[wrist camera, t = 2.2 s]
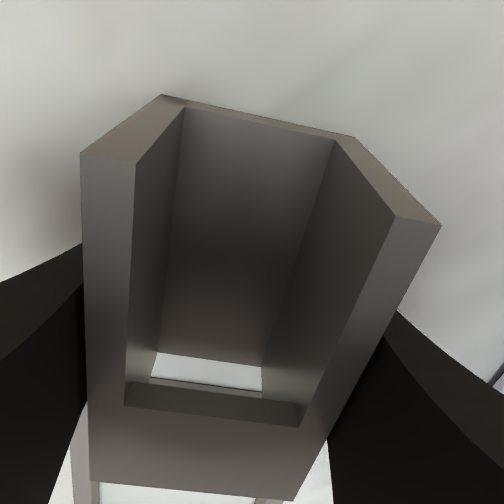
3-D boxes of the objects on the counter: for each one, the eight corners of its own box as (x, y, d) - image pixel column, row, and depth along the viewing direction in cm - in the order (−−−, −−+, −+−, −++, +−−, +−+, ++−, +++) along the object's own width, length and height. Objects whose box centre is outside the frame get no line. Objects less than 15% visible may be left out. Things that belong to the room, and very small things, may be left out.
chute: (160, 94, 9) (79, 153, 5) (354, 137, 9) (442, 225, 5) (142, 332, 13) (89, 480, 9) (278, 352, 14) (293, 501, 9)
